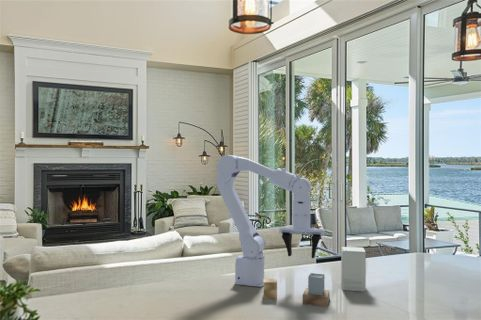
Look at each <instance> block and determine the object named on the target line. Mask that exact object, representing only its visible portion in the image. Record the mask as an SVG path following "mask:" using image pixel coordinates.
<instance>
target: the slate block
mask: <svg viewBox="0 0 481 320" xmlns="http://www.w3.org/2000/svg"><path fill="white" fill-rule="evenodd" d="M307 276H308V277H307V278H308V279H307V280H308V282H307V283H308V284H307V285H308V286H307V288H308V294H315V295H323V293H324V290H325V274H322V273H314V272H310V274H309V275H307Z"/></svg>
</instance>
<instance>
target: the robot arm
mask: <svg viewBox="0 0 481 320" xmlns="http://www.w3.org/2000/svg"><path fill="white" fill-rule="evenodd" d="M216 171H217V172H216V187H217V190H218V192H219V193H220V195H221V198H222V199H223V202H224V204H225V206H226V209H227V210H228V212H229V214H230V216H231V218H232V221H233V222H234V225H235V226H236V227H235V228H236V229H237V230H238V231H237V232H238V234H239V235H238V236H239V238H238V239H239V242H240V245H241V252H242V255H238V256H237V257H236V259H235V266H234V267H235V268H234V271H235V272H234V276H235V277H234V278H235V279H234V285H239V286H240V285H241V286H249V287H260V288H262V287H264V278H265V253H264V252H263V251H264V250H265V248H266V240H265V238H264V236H262V235H260V233H259V231H258V230H257V228H256V227H255V226H253V223H252V221H251V220H250V218H249V215H248V213H247V211H246V209H245V207H244V205H243V203H242V201H241V198H240V196H239V194H238V193H237V191H236V189H235V187H234V182H235V180H236V178H237V176H238V175H239V174H240V173H241V172H243V171H248V172H252V173H253V174H257V175H259V176H262V177H265V178H266V179H269V180H270V182H271V184H272V185H274V186H277V187H279V188H280V189H283V190H286V191H288V192H292V193H293V196H292V197H293V200H292V226H280V227H279V228H278V229H279V230H278V233H279V234H282V235H281V238H282V240H283V242H284V244H285V248H286V250H287V251H286V252H287V256H288V257H291V256H292V255H293V254H292V253H293V252H292V251H293V250H292V240H293V235H307V236H311V259H315V257H316V252H317V247H318V245H319V242H320V240H321V238H322V237H324V236H325V229H324V228H315V227H311V193H310V192H311V191H312V183H311V181H310V180H309V179H307V178H306V177H305V176H304V177H300V174H298V173H296V174H295V173H292V172H289V171H287V169H286V168H284V167H282V168H280V167H278V168H275V169H273V168H270V167H267V166H265V165H263V164H261V163H259V162H257V161H254V160H252V159H249V158H246V157H242V156H239V155H235V154H233V155H231V154H225V155H223V156H221V157H220V158H219V160H218V163H217V164H216Z"/></svg>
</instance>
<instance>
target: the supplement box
mask: <svg viewBox="0 0 481 320" xmlns="http://www.w3.org/2000/svg"><path fill="white" fill-rule="evenodd" d="M340 251H341V252H340V254H341V256H340V257H341V261H340V262H341V263H340V265H341V269H340V270H341V271H340V273H341V274H340V277H341V278H340V280H341V282H340V284H341V290H342V291H350V292H352V291H353V292H366V289H367V288H366V286H367V285H366V275H367V274H366V273H367V272H366V271H367V270H366V269H367V268H366V266H367V265H366V264H367V263H366V260H367V258H366V256H367V255H366V254H367V253H366V249H365V248H364V247H355V246H341V250H340Z"/></svg>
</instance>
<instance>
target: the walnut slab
mask: <svg viewBox="0 0 481 320" xmlns="http://www.w3.org/2000/svg"><path fill="white" fill-rule="evenodd" d="M329 301H330V289H324V293H323V295H315V294H308V287H306V288H305V289H304V292H303V294H302V303H303V305H309V304H311V305H312V306H320V307H328V305H329ZM311 305H310V306H311Z"/></svg>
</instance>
